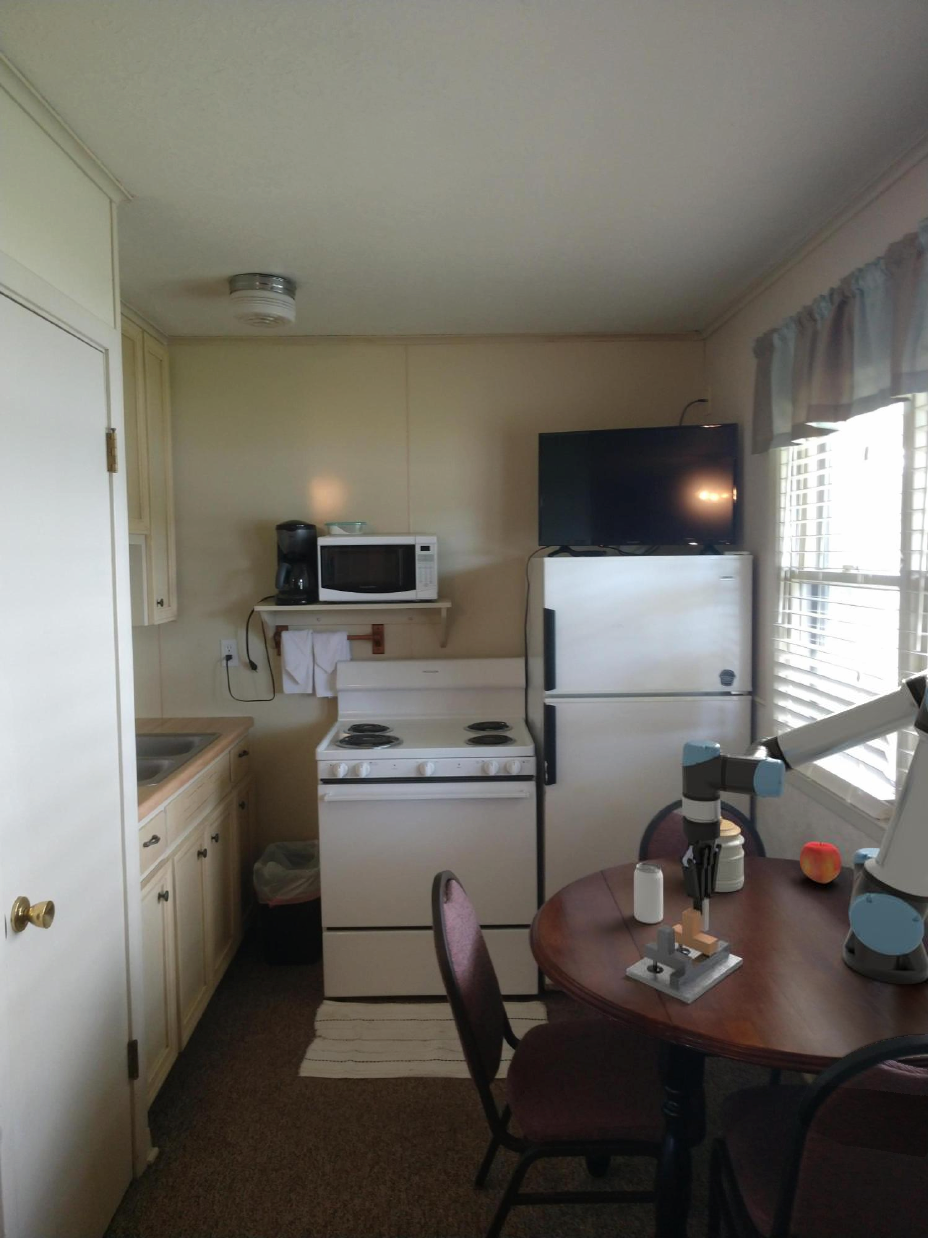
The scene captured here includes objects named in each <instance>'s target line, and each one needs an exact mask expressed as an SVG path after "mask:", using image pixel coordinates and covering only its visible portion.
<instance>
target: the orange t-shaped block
mask: <svg viewBox="0 0 928 1238" xmlns="http://www.w3.org/2000/svg"><path fill="white" fill-rule="evenodd" d="M671 927H672V928H675V942H676V943H678V951H679V952H682V951H683V945H684V946H686V947H689V948H691V949H694V950H696V951H699V952H701V953H704V954H706V955H709V956H711V955H712V954H713V953H715V952H716V951H718V942H719V941H718V938H716V937H714V936H712V935H711V936H710V935H709V934H705V933H703V932H701V931H702V930H701V912H700V911H698V910H695V909H693V907H692V908H691V907H689V908H688V909H685V910H683V912H681V924H679V923H677V924H676V925H674V926H671Z"/></svg>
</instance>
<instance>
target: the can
mask: <svg viewBox="0 0 928 1238" xmlns="http://www.w3.org/2000/svg"><path fill="white" fill-rule="evenodd" d="M633 913H634V914H633V916H634V918H635V919H636V920H637V921H638V922H640V923H642V924H648V925H650V924H652V925H654V924H658V923H660V922H661V921H662V920H663V918H664V874H663V872H662V868H661V866H660V865H659V864H656V863H653V862H640V863H638V864H636V865H635V870H634V872H633Z"/></svg>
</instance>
